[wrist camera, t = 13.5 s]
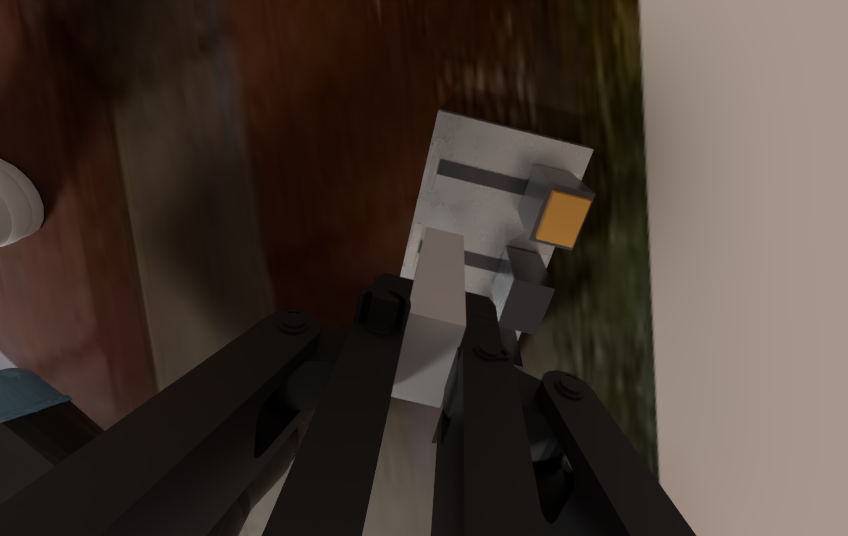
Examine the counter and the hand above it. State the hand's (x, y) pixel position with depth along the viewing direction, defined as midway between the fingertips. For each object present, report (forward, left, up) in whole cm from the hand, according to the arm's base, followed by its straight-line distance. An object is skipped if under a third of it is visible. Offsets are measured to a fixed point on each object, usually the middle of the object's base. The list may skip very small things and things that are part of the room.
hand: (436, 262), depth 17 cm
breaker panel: (+4, -7, -20) cm, 22 cm away
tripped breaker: (+8, 0, -18) cm, 19 cm away
